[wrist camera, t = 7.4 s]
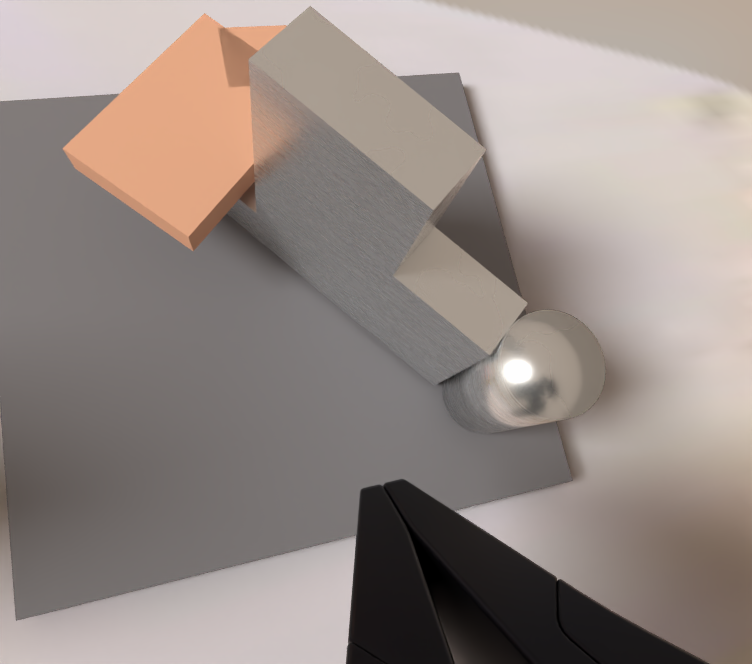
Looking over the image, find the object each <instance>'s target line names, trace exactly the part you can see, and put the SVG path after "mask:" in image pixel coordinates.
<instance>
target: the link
mask: <svg viewBox="0 0 752 664" xmlns="http://www.w3.org/2000/svg"><path fill="white" fill-rule="evenodd" d="M249 78H250V98H251V117H252V137H253V156H254V176H255V182H254V183H253V184H252V185H251V186H250V187H249V188H248V190H247V191H246V192H245V193H244V194H243V195H242V196H241V198H240V199H239V200H238V201H237V202H236V203H235V204H234V206H233V207H232V208H231V209H230V210H229V211H228V212H227V215H228V216H229V217H230V218H232V219H233V220H234V221H235V222H236V223H238V224H239V225H240V226H241V227H242V228H244V229H245V230H246V231H247V232H249V233H250V234H251V235H252V236H253V237H255V238H256V239H257V240H258V241H259V242H261V243H262V244H263V245H264V246H266V247H267V248H268V249H269V250H270V251H272V252H273V253H274V254H275V255H276V256H278V257H279V258H280V259H281V260H282V261H284V262H285V263H286V264H287V265H289V266H290V267H291V268H292V269H293V270H295V271H296V272H297V273H298V274H299V275H301V276H302V277H303V278H304V279H306V280H307V281H308V282H309V283H310V284H312V285H313V286H314V287H315V288H316V289H318V290H319V291H320V292H321V293H323V294H324V295H325V296H326V297H327V298H329V299H330V300H331V301H332V302H333V303H335V304H336V305H337V306H338V307H339V308H341V309H342V310H343V311H344V312H346V313H347V314H348V315H349V316H350V317H352V318H353V319H354V320H355V321H356V322H358V323H359V324H360V325H361V326H363V327H364V328H365V329H366V330H367V331H369V332H370V333H371V334H372V335H373V336H375V337H376V338H377V339H378V340H380V341H381V342H382V343H383V344H384V345H386V346H387V347H388V348H389V349H390V350H392V351H393V352H394V353H395V354H396V355H398V356H399V357H400V358H401V359H403V360H404V361H405V362H406V363H407V364H409V365H410V366H411V367H412V368H413V369H415V370H416V371H417V372H418V373H420V374H421V375H422V376H423V377H424V378H426V379H427V380H428V381H429V382H430V383H432V384H433V385H436V384H438V383H440V382H442V381H443V382H442V397H443V401H444V404H445V407H446V409H447V411H448V413H449V414H450V416H451V417H452V418H453V420H454V421H455V422H456V423H457V424H458V425H460V426H461V427H463V428H464V429H466V430H468V431H471V432H473V433H478V434H491V433H496V432H502V431H507V430H512V429H518V428H523V427H528V426H533V425H539V424H544V423H549V422H555V421H560V420H565V419H570V418H574V417H577V416H579V415H581V414H583V413H585V412H586V411H587V410H589V409H590V408H591V407H592V406H593V405H594V404H595V402H596V401H597V400H598V398H599V396H600V394H601V392H602V389H603V387H604V382H605V375H606V367H605V360H604V356H603V352H602V350H601V347H600V345H599V343H598V341H597V339H596V338H595V336H594V335H593V333H592V332H591V331H590V330H589V329H588V327H586V326H585V325H584V324H583V323H582V322H581V321H579V320H578V319H577V318H575V317H573V316H571V315H569V314H567V313H564V312H561V311H556V310H538V311H534V312H531V313H529V314H527V315H525V316H523V317H522V318H520V319H518V320H517V321H515V320H516V319H517V318H518V316H519V315H520V314H521V312H522V311H523V309H524V308H525V307H526V305H527V304H528V303H527V302H526V301H525V300H524V299H522V298H521V297H520V296H519V295H518V294H516V293H515V292H514V291H513V290H511V289H510V288H509V287H508V286H507V285H505V284H504V283H503V282H502V281H500V280H499V279H498V278H497V277H496V276H494V275H493V274H492V273H491V272H489V271H488V270H487V269H486V268H485V267H483V266H482V265H481V264H480V263H478V262H477V261H476V260H475V259H474V258H472V257H471V256H470V255H469V254H467V253H466V252H465V251H464V250H463V249H461V248H460V247H459V246H458V245H456V244H455V243H454V242H453V241H452V240H450V239H449V238H448V237H447V236H445V235H444V234H443V233H442V232H441V231H439V230H438V229H437V228H436V227H435V226H436V224H437V223H438V221H439V220H440V218H441V217H442V215H443V214H444V212H445V211H446V209H447V208H448V206H449V205H450V203H451V202H452V200H453V199H454V197H455V196H456V194H457V193H458V191H459V190H460V188H461V187H462V185H463V184H464V182H465V181H466V179H467V178H468V176H469V175H470V173H471V172H472V170H473V169H474V167H475V166H476V164H477V163H478V161H479V160H480V158H481V157H482V155H483V154H484V152H485V151H486V149H485V148H484V147H483V146H482V145H480V144H479V143H478V142H477V141H475V140H474V139H473V138H472V137H471V136H469V135H468V134H467V133H466V132H464V131H463V130H462V129H461V128H459V127H458V126H457V125H456V124H455V123H453V122H452V121H451V120H450V119H448V118H447V117H446V116H445V115H444V114H442V113H441V112H440V111H439V110H437V109H436V108H435V107H434V106H432V105H431V104H430V103H429V102H428V101H426V100H425V99H424V98H423V97H421V96H420V95H419V94H418V93H416V92H415V91H414V90H413V89H412V88H410V87H409V86H408V85H407V84H405V83H404V82H403V81H402V80H401V79H399V78H398V77H397V76H396V75H394V74H393V73H392V72H391V71H389V70H388V69H387V68H386V67H385V66H383V65H382V64H381V63H380V62H378V61H377V60H376V59H375V58H373V57H372V56H371V55H370V54H369V53H367V52H366V51H365V50H364V49H362V48H361V47H360V46H359V45H358V44H356V43H355V42H354V41H353V40H351V39H350V38H349V37H348V36H346V35H345V34H344V33H343V32H342V31H340V30H339V29H338V28H337V27H335V26H334V25H333V24H332V23H330V22H329V21H328V20H327V19H326V18H324V17H323V16H322V15H321V14H319V13H318V12H317V11H316V10H315V9H313V8H312V7H311V6H310V7H309V8H307V9H306V10H305V11H304V12H303V13H302V14H300V15H299V16H298V17H297V18H296V19H295V20H293V21H292V22H291V23H290V24H289V25H288V26H286V27H285V28H284V29H283V30H282V31H281V32H280V33H278V34H277V35H276V36H275V37H274V38H273V39H271V40H270V41H269V42H268V43H267V44H266V45H264V46H263V47H262V48H261V49H260V50H259V51H257V52H256V53H255V54H254V55H253V56H252V57H250V58H249Z"/></svg>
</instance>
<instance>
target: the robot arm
mask: <svg viewBox="0 0 752 664" xmlns="http://www.w3.org/2000/svg"><path fill="white" fill-rule="evenodd" d="M346 664H709V663H707V662H706V661H704V660H702V659H700V658H698V657H696V656H694V655H692V654H690V653H689V652H687V651H685V650H683V649H681V648H679V647H677V646H675V645H673V644H672V643H670V642H668V641H666V640H664V639H662V638H660V637H658V636H656V635H655V634H653V633H651V632H649V631H647V630H645V629H643V628H642V627H640V626H638V625H636V624H634V623H633V622H631V621H629V620H627V619H625V618H624V617H622V616H620V615H618V614H616V613H615V612H613V611H611V610H609V609H608V608H606V607H604V606H603V605H601V604H600V603H598V602H596V601H595V600H593V599H591V598H590V597H588V596H586V595H585V594H583V593H582V592H580V591H578V590H577V589H575V588H574V587H572V586H571V585H569V584H568V583H566V582H564V581H563V580H561V579H560V580H558V581H557V578H556V577H555V576H554V575H552V574H551V573H549V572H548V571H546V570H545V569H543V568H542V567H540V566H538V565H537V564H535V563H534V562H532V561H531V560H529V559H528V558H526V557H525V556H523V555H521V554H520V553H518V552H517V551H515V550H514V549H512V548H511V547H509V546H507V545H506V544H504V543H503V542H501V541H500V540H498V539H497V538H495V537H494V536H492V535H490V534H489V533H487V532H486V531H484V530H483V529H481V528H480V527H478V526H477V525H475V524H473V523H472V522H470V521H469V520H467V519H466V518H464V517H463V516H461V515H460V514H458V513H456V512H455V511H453V510H452V509H450V508H449V507H447V506H446V505H444V504H442V503H441V502H439V501H438V500H436V499H435V498H433V497H432V496H430V495H429V494H427V493H425V492H424V491H422V490H421V489H419V488H418V487H416V486H415V485H413V484H412V483H410V482H408V481H407V480H405V479H399V480H394V481H390V482H386V483H385V484H384V485H383V486H382V485H380V484H378V485H374V486H370V487H366V488H362V489H361V491H360V498H359V510H358V523H357V535H356V548H355V561H354V573H353V586H352V598H351V611H350V624H349V636H348V646H347V657H346Z"/></svg>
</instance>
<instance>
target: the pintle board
mask: <svg viewBox="0 0 752 664" xmlns="http://www.w3.org/2000/svg"><path fill="white" fill-rule="evenodd" d="M285 27H286V25H283V26H257V27H232V28H225V27H223V26H222V25H220V24H219V23H218V22H216V21H215V20H213V19H212V18H210V17H209V16H208V15H206V14H205V13H204V14H203V15H202V16H201V17H200V18H199V19H198V20H197V21H196V22H195V23H194V24H193V25H192V26H191V27H190V28H189V29H188V30H187V31H186V32H184V33H183V34H182V35H181V36H180V37H179V38H178V39H177V40H176V41H175V42H174V43H173V44H172V45H171V46H170V47H169V48H168V49H167V50H166V51H164V52H163V53H162V54H161V55H160V56H159V57H158V58H157V59H156V60H155V61H154V62H153V63H152V64H151V65H150V66H149V67H148V68H147V69H146V70H145V71H143V72H142V73H141V74H140V75H139V76H138V77H137V78H136V79H135V80H134V81H133V82H132V83H131V84H130V85H129V86H128V87H127V88H126V89H125V90H123V91H122V92H121V93H120V94H111V95H95V96H79V97H63V98H47V99H31V100H15V101H0V408H1V422H2V436H3V450H4V464H5V477H6V491H7V505H8V519H9V532H10V546H11V560H12V574H13V587H14V601H15V615H16V621H17V620H21V619H25V618H29V617H33V616H37V615H41V614H45V613H49V612H53V611H56V610H60V609H64V608H68V607H72V606H76V605H80V604H84V603H88V602H92V601H96V600H100V599H104V598H108V597H112V596H116V595H120V594H124V593H128V592H132V591H136V590H140V589H144V588H148V587H152V586H156V585H160V584H164V583H168V582H172V581H176V580H180V579H184V578H188V577H192V576H196V575H200V574H204V573H208V572H212V571H216V570H220V569H224V568H227V567H231V566H235V565H239V564H243V563H247V562H251V561H255V560H259V559H263V558H267V557H271V556H275V555H279V554H283V553H287V552H291V551H295V550H299V549H303V548H307V547H311V546H315V545H319V544H323V543H327V542H331V541H335V540H339V539H343V538H347V537H351V536H355V535H357V523H358V510H359V498H360V491H361V489H362V488H366V487H370V486H374V485H378V484H380V485H382V486H383V485H384V484H385V483H386V482H390V481H394V480H399V479H405V480H407V481H408V482H410V483H412V484H413V485H415V486H416V487H418V488H419V489H421V490H422V491H424V492H425V493H427V494H429V495H430V496H432V497H433V498H435V499H436V500H438V501H439V502H441V503H442V504H444V505H446V506H447V507H449V508H450V509H452V510H453V511H454V510H458V509H462V508H466V507H470V506H474V505H478V504H482V503H486V502H490V501H494V500H498V499H502V498H506V497H510V496H514V495H518V494H522V493H526V492H530V491H534V490H538V489H542V488H546V487H550V486H554V485H558V484H562V483H566V482H570V481H573V480H572V477H571V473H570V470H569V466H568V462H567V459H566V455H565V452H564V448H563V444H562V441H561V437H560V434H559V430H558V426H557V423H556V421H555V422H549V423H544V424H539V425H533V426H528V427H523V428H518V429H512V430H507V431H502V432H496V433H491V434H478V433H473V432H471V431H468V430H466V429H464V428H463V427H461V426H460V425H458V424H457V423H456V422H455V421H454V420H453V418H452V417H451V416H450V414H449V413H448V411H447V409H446V407H445V404H444V401H443V397H442V382H443V381H442V382H440V383H438V384H436V385H433V384H432V383H430V382H429V381H428V380H427V379H426V378H424V377H423V376H422V375H421V374H420V373H418V372H417V371H416V370H415V369H413V368H412V367H411V366H410V365H409V364H407V363H406V362H405V361H404V360H403V359H401V358H400V357H399V356H398V355H396V354H395V353H394V352H393V351H392V350H390V349H389V348H388V347H387V346H386V345H384V344H383V343H382V342H381V341H380V340H378V339H377V338H376V337H375V336H373V335H372V334H371V333H370V332H369V331H367V330H366V329H365V328H364V327H363V326H361V325H360V324H359V323H358V322H356V321H355V320H354V319H353V318H352V317H350V316H349V315H348V314H347V313H346V312H344V311H343V310H342V309H341V308H339V307H338V306H337V305H336V304H335V303H333V302H332V301H331V300H330V299H329V298H327V297H326V296H325V295H324V294H323V293H321V292H320V291H319V290H318V289H316V288H315V287H314V286H313V285H312V284H310V283H309V282H308V281H307V280H306V279H304V278H303V277H302V276H301V275H299V274H298V273H297V272H296V271H295V270H293V269H292V268H291V267H290V266H289V265H287V264H286V263H285V262H284V261H282V260H281V259H280V258H279V257H278V256H276V255H275V254H274V253H273V252H272V251H270V250H269V249H268V248H267V247H266V246H264V245H263V244H262V243H261V242H259V241H258V240H257V239H256V238H255V237H253V236H252V235H251V234H250V233H249V232H247V231H246V230H245V229H244V228H242V227H241V226H240V225H239V224H238V223H236V222H235V221H234V220H233V219H232V218H230V217H229V216H228V215H227V212H228V211H229V210H230V209H231V208H232V207H233V206H234V204H235V203H236V202H237V201H238V200H239V199H240V198H241V196H242V195H243V194H244V193H245V192H246V191H247V190H248V188H249V187H250V186H251V185H252V184H253V183H254V182H255V176H254V156H253V137H252V117H251V98H250V78H249V58H250V57H252V56H253V55H254V54H255V53H256V52H257V51H259V50H260V49H261V48H262V47H263V46H264V45H266V44H267V43H268V42H269V41H270V40H271V39H273V38H274V37H275V36H276V35H277V34H278V33H280V32H281V31H282V30H283V29H284V28H285ZM397 77H398V78H399V79H401V80H402V81H403V82H404V83H405V84H407V85H408V86H409V87H410V88H412V89H413V90H414V91H415V92H416V93H418V94H419V95H420V96H421V97H423V98H424V99H425V100H426V101H428V102H429V103H430V104H431V105H432V106H434V107H435V108H436V109H437V110H439V111H440V112H441V113H442V114H444V115H445V116H446V117H447V118H448V119H450V120H451V121H452V122H453V123H455V124H456V125H457V126H458V127H459V128H461V129H462V130H463V131H464V132H466V133H467V134H468V135H469V136H471V137H472V138H473V139H474V140H475V141H477V142H478V139H477V136H476V132H475V128H474V125H473V121H472V118H471V114H470V110H469V107H468V103H467V100H466V96H465V93H464V89H463V85H462V82H461V78H460V75H459V73H445V74H429V75H413V76H397ZM435 227H436V228H437V229H438V230H439V231H441V232H442V233H443V234H444V235H445V236H447V237H448V238H449V239H450V240H452V241H453V242H454V243H455V244H456V245H458V246H459V247H460V248H461V249H463V250H464V251H465V252H466V253H467V254H469V255H470V256H471V257H472V258H474V259H475V260H476V261H477V262H478V263H480V264H481V265H482V266H483V267H485V268H486V269H487V270H488V271H489V272H491V273H492V274H493V275H494V276H496V277H497V278H498V279H499V280H500V281H502V282H503V283H504V284H505V285H507V286H508V287H509V288H510V289H511V290H513V291H514V292H515V293H516V294H518V295H519V296H520V297H521V294H520V290H519V286H518V283H517V279H516V276H515V272H514V268H513V265H512V261H511V258H510V254H509V250H508V247H507V243H506V240H505V236H504V233H503V229H502V225H501V222H500V218H499V215H498V211H497V207H496V204H495V200H494V197H493V193H492V189H491V186H490V182H489V179H488V175H487V172H486V168H485V164H484V161H483V157H481V158H480V160H479V161H478V163H477V164H476V166H475V167H474V169H473V170H472V172H471V173H470V175H469V176H468V178H467V179H466V181H465V182H464V184H463V185H462V187H461V188H460V190H459V191H458V193H457V194H456V196H455V197H454V199H453V200H452V202H451V203H450V205H449V206H448V208H447V209H446V211H445V212H444V214H443V215H442V217H441V218H440V220H439V221H438V223H437V224H436V226H435ZM521 298H522V297H521ZM525 315H526V312H525V308H524V309H523V311H522V312H521V314H520V315H519V316H518V318H517V319H516V320H515V321H517V320H518V319H520V318H522V317H523V316H525Z"/></svg>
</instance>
